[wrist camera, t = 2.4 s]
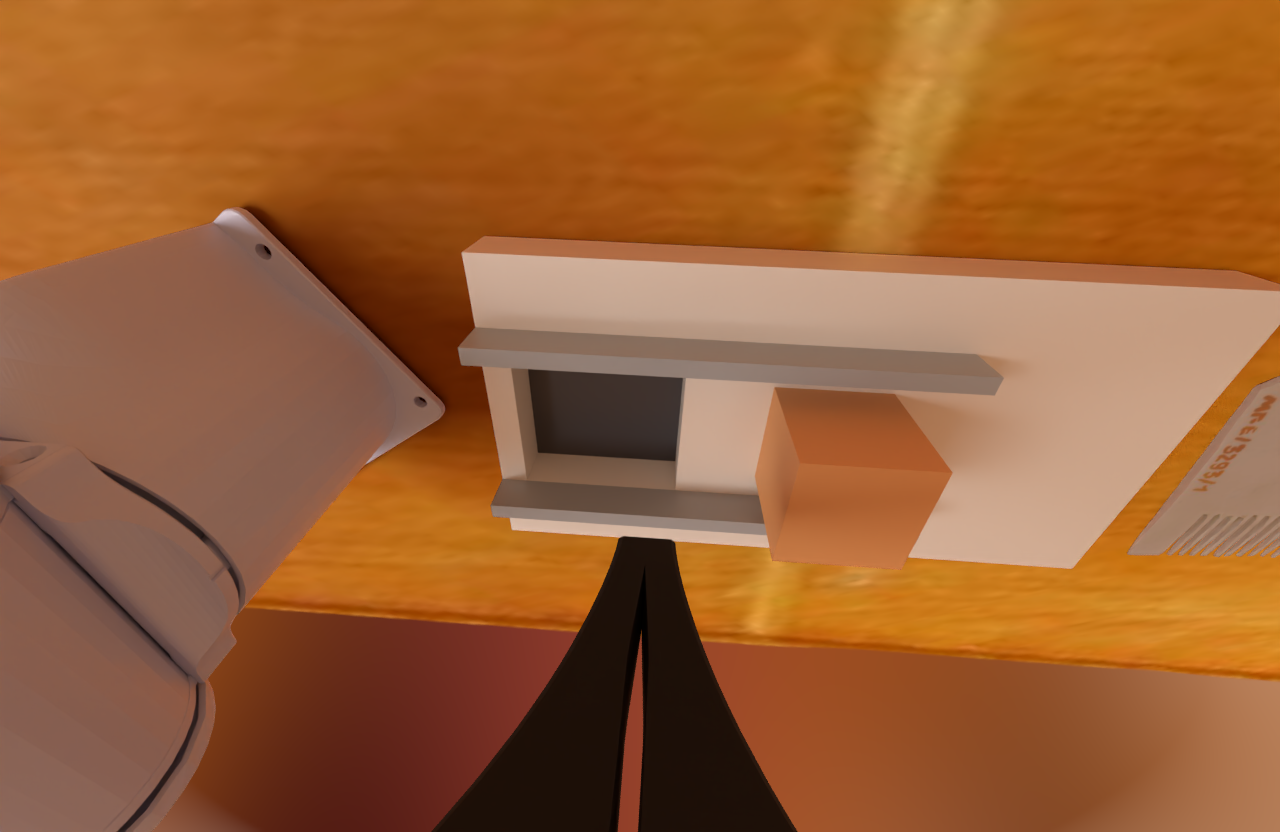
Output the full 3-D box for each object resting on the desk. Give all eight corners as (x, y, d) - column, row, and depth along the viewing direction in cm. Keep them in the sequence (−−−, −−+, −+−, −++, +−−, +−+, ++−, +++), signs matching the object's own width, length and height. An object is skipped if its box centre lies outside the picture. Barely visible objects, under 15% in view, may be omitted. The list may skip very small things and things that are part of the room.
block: (754, 476, 18) (772, 560, 15) (774, 387, 16) (799, 463, 13) (859, 482, 18) (901, 569, 15) (894, 393, 16) (952, 472, 12)
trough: (523, 497, 22) (501, 557, 20) (484, 236, 16) (440, 267, 13) (1041, 532, 22) (1098, 599, 19) (1236, 270, 15) (1372, 313, 12)
